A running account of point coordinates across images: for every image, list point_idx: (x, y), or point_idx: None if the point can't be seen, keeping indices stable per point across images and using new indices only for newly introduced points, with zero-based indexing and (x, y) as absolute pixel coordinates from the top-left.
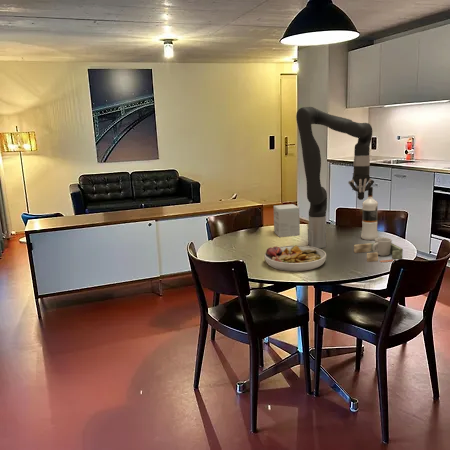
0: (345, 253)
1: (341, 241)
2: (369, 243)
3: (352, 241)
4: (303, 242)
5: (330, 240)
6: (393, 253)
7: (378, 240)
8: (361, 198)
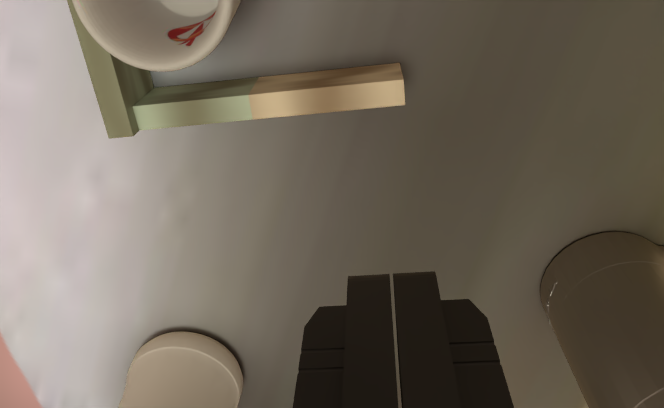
0: (477, 66)
1: None
2: (261, 116)
3: None
4: None
5: None
6: None
7: (191, 43)
8: (399, 285)
